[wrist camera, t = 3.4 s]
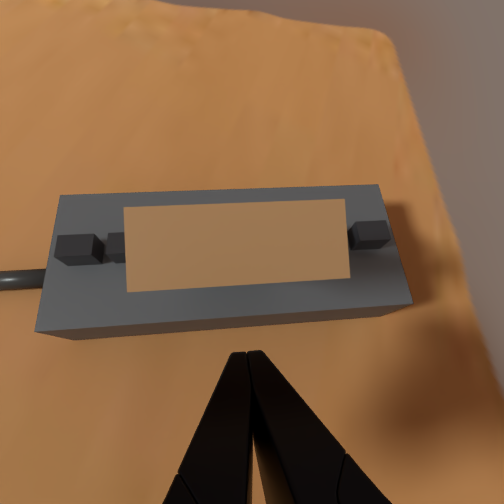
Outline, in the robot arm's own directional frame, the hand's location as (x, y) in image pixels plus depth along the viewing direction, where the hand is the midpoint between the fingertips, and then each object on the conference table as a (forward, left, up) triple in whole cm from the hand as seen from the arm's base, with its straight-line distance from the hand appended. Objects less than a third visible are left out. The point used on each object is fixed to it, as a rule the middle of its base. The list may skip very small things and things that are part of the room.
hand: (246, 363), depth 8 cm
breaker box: (+7, +2, -11) cm, 13 cm away
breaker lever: (+5, -2, -6) cm, 8 cm away
